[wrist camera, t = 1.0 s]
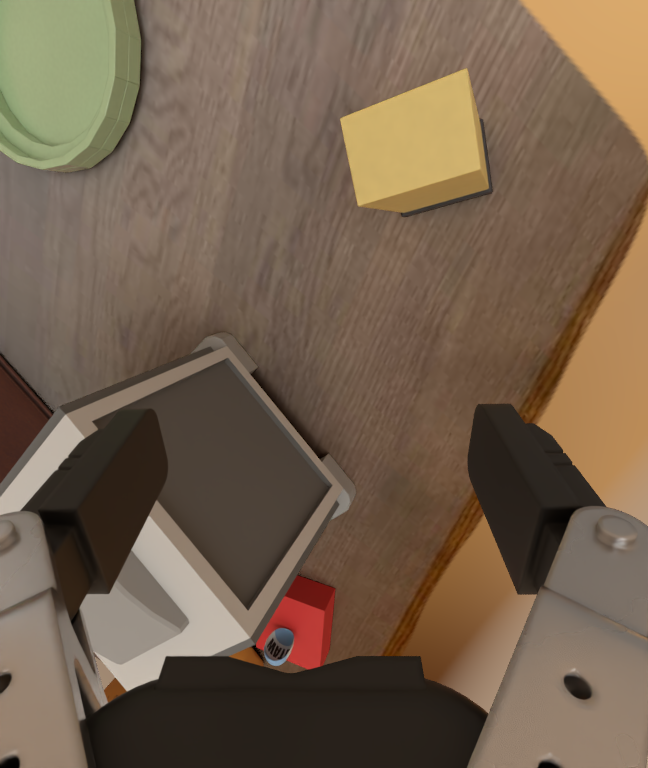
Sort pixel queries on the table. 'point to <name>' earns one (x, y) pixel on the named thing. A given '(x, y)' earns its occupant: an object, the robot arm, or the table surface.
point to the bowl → (66, 80)
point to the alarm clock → (198, 510)
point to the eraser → (419, 148)
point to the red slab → (300, 625)
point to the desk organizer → (17, 417)
